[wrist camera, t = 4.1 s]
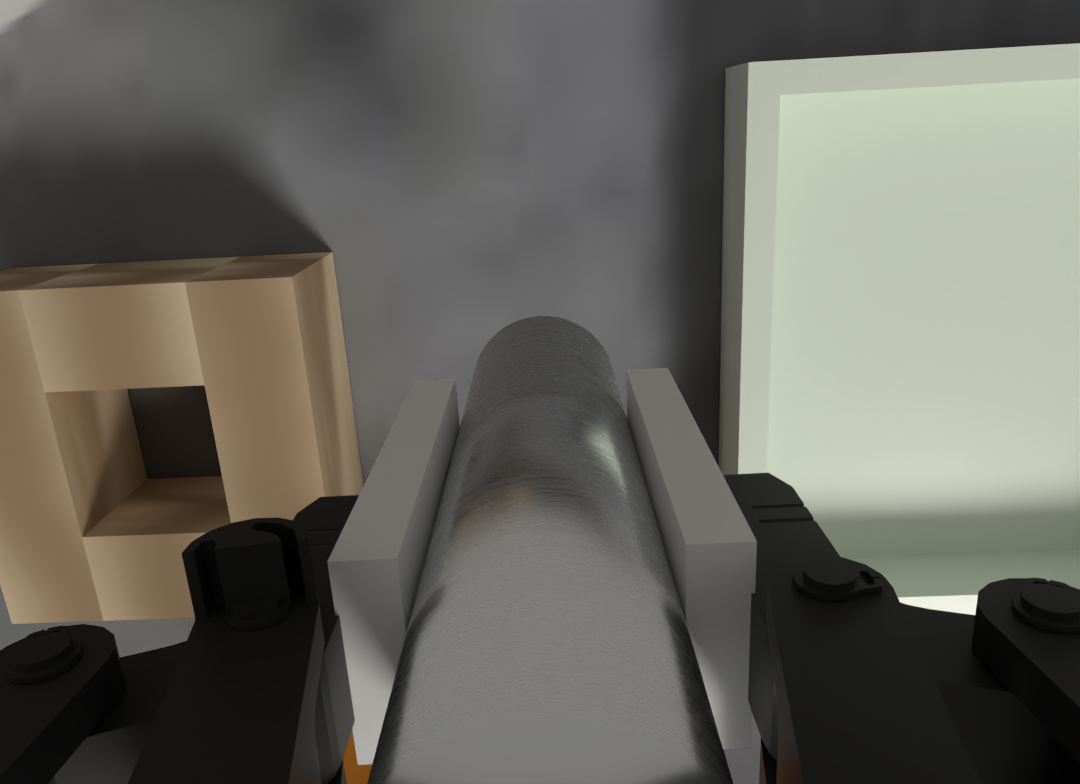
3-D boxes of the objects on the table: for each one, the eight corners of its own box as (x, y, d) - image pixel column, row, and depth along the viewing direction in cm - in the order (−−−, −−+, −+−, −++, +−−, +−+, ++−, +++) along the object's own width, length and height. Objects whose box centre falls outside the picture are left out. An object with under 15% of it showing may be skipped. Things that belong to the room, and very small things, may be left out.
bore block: (84, 556, 29) (12, 623, 25) (9, 268, 25) (-86, 295, 22) (371, 545, 28) (342, 612, 24) (332, 251, 25) (291, 276, 21)
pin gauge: (478, 453, 19) (371, 1040, 7) (467, 319, 18) (320, 730, 6) (615, 446, 19) (750, 1025, 7) (612, 312, 18) (761, 710, 6)
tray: (716, 573, 28) (734, 625, 25) (725, 68, 23) (748, 62, 20) (1125, 559, 28) (1189, 610, 25) (1227, 39, 23) (1323, 28, 20)
